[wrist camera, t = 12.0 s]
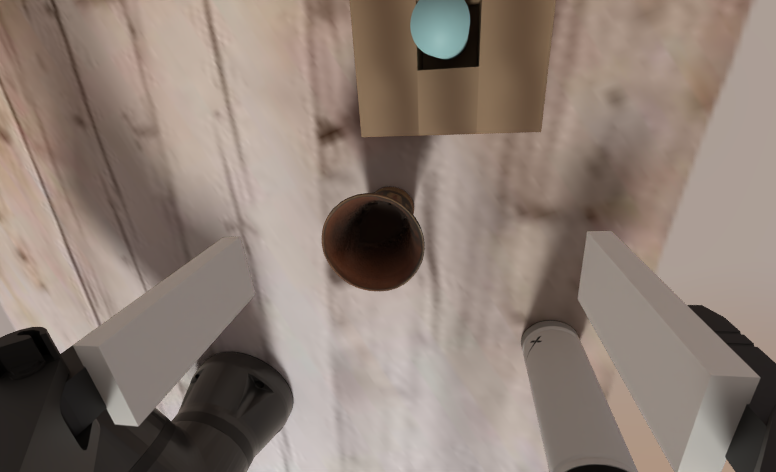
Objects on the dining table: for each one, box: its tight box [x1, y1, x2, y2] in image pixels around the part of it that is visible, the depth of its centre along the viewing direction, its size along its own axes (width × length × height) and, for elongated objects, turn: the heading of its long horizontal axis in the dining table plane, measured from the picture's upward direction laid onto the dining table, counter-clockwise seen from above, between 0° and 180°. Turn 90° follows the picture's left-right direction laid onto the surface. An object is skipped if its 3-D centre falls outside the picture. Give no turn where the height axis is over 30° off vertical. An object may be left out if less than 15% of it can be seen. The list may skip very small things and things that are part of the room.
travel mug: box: [521, 321, 638, 472], centre depth 33 cm, size 6×7×20 cm
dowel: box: [410, 0, 470, 60], centre depth 25 cm, size 3×3×12 cm
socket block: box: [350, 0, 556, 137], centre depth 29 cm, size 14×14×6 cm
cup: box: [322, 187, 424, 291], centre depth 35 cm, size 9×9×10 cm
